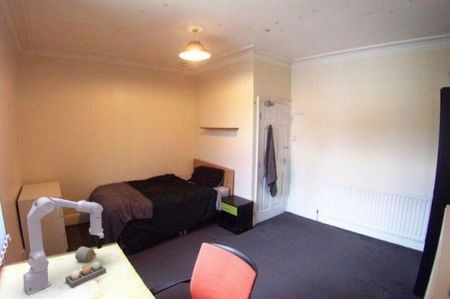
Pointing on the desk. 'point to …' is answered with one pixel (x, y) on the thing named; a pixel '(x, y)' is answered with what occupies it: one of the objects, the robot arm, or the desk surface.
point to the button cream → (75, 275)
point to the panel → (85, 277)
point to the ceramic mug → (85, 254)
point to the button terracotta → (85, 270)
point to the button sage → (96, 266)
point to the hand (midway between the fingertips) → (96, 246)
